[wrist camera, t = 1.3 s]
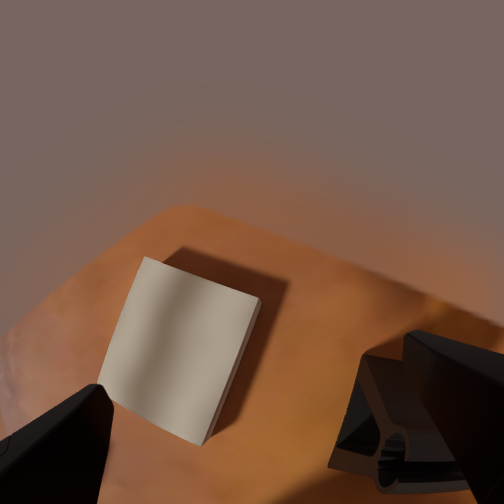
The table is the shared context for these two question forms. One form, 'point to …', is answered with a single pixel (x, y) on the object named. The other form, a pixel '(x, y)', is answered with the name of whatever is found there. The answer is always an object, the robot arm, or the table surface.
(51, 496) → the robot arm
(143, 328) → the base block
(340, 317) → the table surface
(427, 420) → the phone stand
